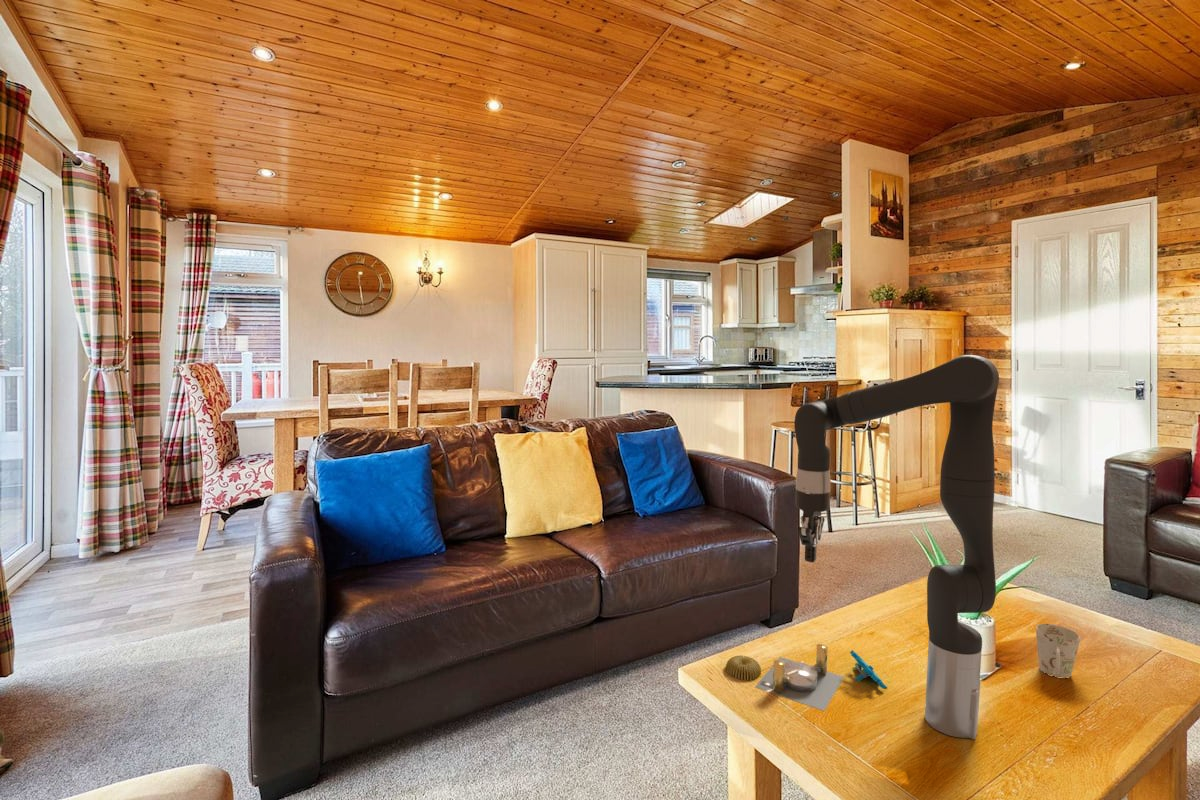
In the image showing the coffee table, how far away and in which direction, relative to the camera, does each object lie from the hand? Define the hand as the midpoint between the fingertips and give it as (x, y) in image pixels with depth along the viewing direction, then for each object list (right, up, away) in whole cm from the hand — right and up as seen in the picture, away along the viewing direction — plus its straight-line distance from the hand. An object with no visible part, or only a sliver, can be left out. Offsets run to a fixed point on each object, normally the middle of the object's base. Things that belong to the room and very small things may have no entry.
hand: (810, 560), depth 141 cm
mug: (+58, -27, 0) cm, 64 cm away
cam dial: (-4, -26, -5) cm, 27 cm away
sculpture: (-16, -28, 0) cm, 32 cm away
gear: (+12, -28, -3) cm, 30 cm away
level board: (-4, -28, -5) cm, 28 cm away
